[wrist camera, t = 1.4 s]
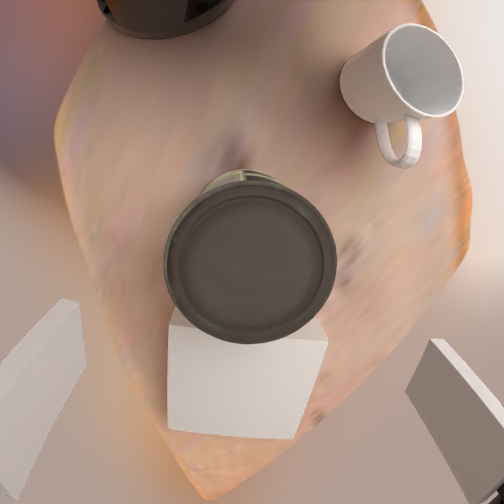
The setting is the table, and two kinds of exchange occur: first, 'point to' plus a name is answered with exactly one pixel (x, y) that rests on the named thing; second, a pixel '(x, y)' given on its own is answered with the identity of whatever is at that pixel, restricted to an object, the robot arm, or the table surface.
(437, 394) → the robot arm
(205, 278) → the coffee can
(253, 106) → the table surface
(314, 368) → the base
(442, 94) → the mug
